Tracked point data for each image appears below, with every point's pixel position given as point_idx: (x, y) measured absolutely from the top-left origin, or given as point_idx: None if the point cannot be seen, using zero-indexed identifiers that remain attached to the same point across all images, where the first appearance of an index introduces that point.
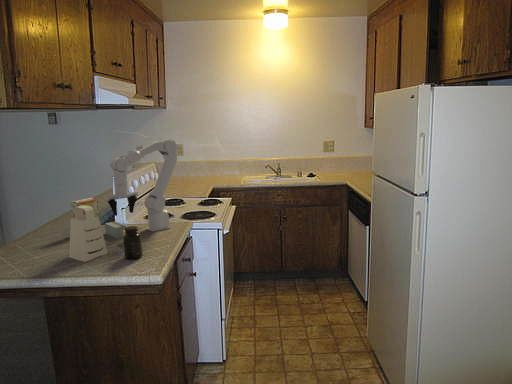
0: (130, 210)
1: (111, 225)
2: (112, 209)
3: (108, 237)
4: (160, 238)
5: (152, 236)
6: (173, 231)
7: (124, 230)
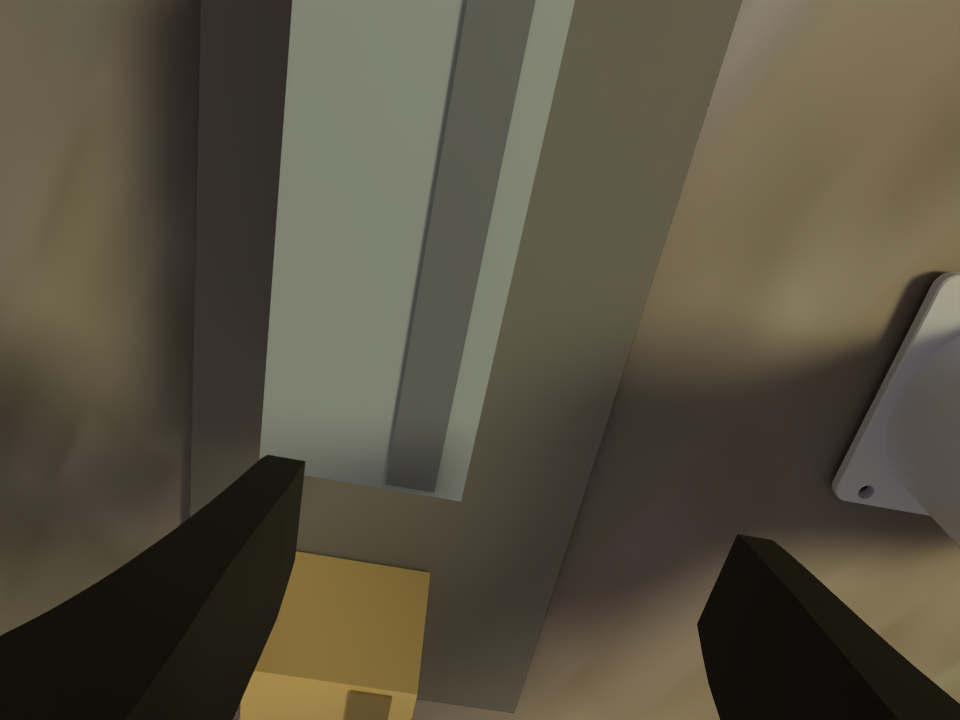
0: (734, 625)
1: (301, 243)
2: (169, 560)
3: (261, 209)
4: (644, 710)
5: (663, 605)
6: (943, 646)
7: (270, 682)
